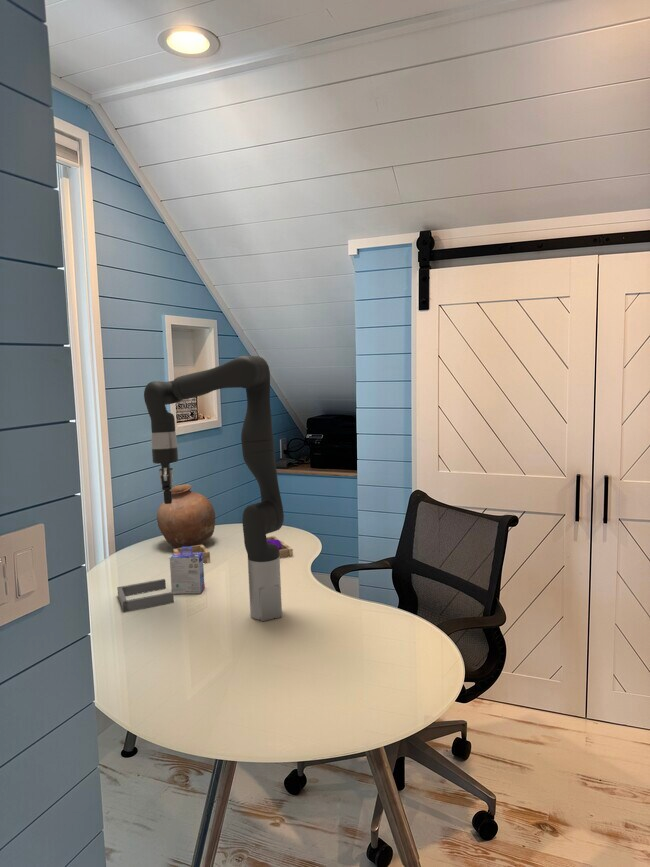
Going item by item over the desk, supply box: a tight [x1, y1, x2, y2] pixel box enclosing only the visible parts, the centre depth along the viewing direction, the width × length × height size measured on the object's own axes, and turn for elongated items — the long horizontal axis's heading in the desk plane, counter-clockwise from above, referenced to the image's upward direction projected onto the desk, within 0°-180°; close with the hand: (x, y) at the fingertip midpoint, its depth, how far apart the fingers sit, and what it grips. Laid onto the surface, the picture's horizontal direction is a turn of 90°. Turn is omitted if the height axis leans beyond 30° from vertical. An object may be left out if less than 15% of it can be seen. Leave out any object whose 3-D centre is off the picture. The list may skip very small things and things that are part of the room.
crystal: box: [267, 539, 281, 550], centre depth 235 cm, size 5×5×15 cm
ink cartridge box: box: [169, 546, 206, 595], centre depth 195 cm, size 10×6×14 cm, turn 89°
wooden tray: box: [172, 544, 211, 564], centre depth 226 cm, size 11×11×4 cm
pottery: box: [156, 484, 216, 548], centre depth 244 cm, size 23×23×25 cm
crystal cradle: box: [266, 535, 294, 559], centre depth 234 cm, size 20×10×3 cm, turn 26°
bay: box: [117, 578, 175, 613], centre depth 190 cm, size 14×15×3 cm
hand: (168, 503), depth 183 cm, fingers closed
